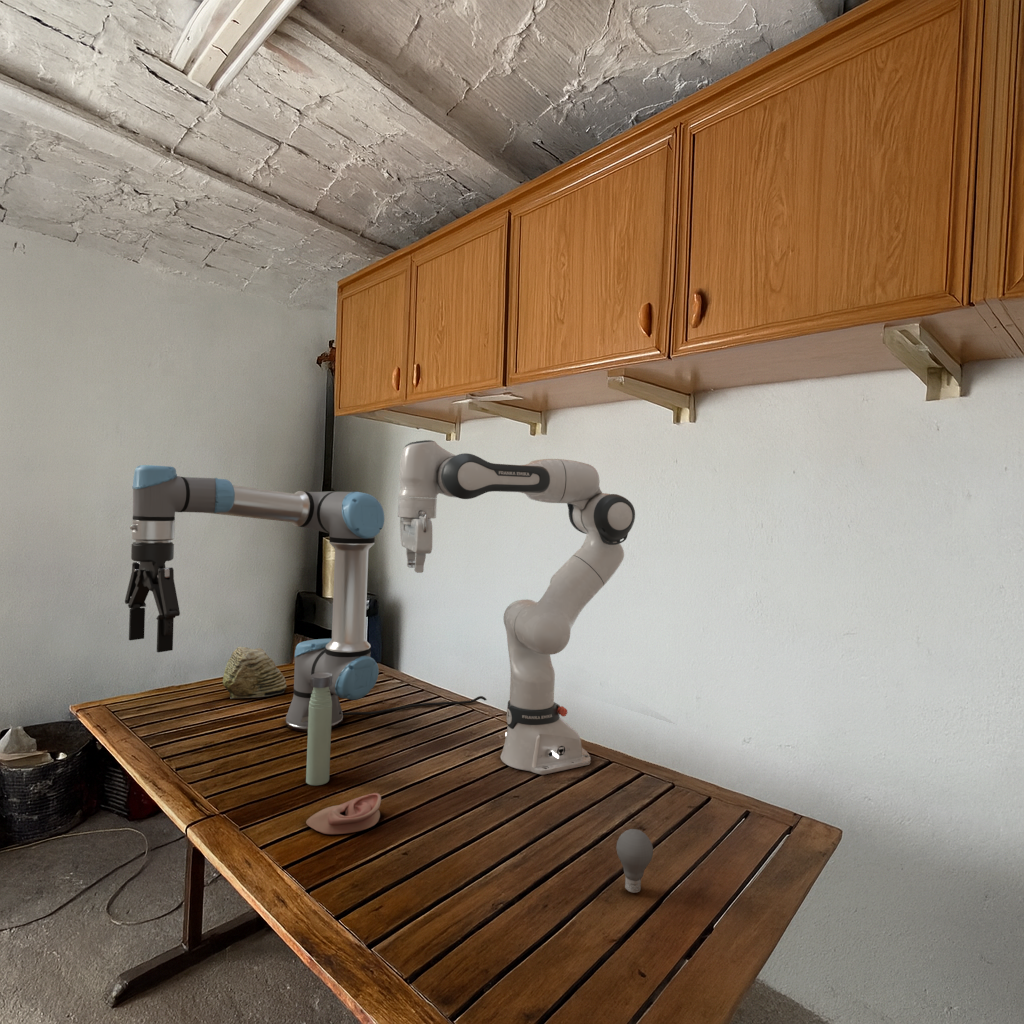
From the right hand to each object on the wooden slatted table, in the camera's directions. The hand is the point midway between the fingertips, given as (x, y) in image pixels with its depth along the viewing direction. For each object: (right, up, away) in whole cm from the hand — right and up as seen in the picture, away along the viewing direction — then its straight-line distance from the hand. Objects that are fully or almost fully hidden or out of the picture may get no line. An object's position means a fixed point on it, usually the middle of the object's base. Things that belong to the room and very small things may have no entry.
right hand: (414, 569), depth 147 cm
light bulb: (+43, -50, -41) cm, 78 cm away
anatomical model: (-10, -47, -23) cm, 53 cm away
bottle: (-21, -47, -6) cm, 51 cm away
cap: (-20, -23, -6) cm, 31 cm away
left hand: (-51, -14, -17) cm, 56 cm away
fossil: (-58, -44, +51) cm, 89 cm away
